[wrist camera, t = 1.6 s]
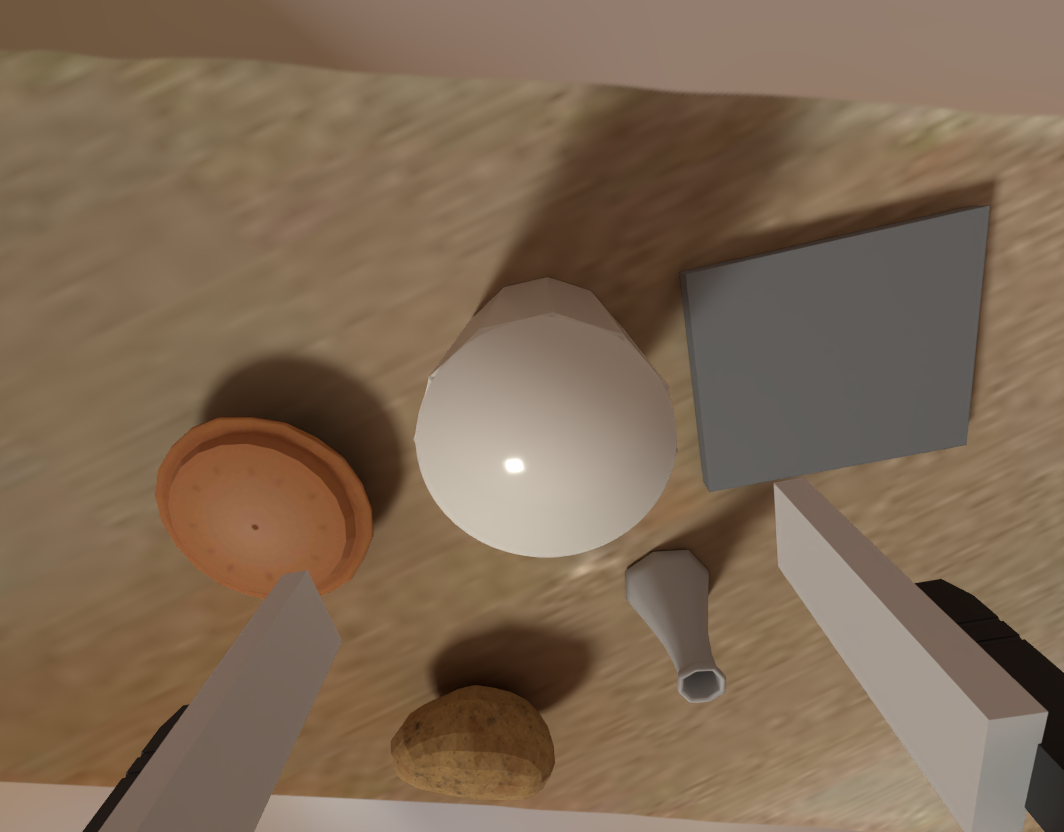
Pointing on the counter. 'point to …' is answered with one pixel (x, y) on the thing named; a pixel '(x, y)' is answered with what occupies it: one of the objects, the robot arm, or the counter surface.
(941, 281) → the slate board
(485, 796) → the potato
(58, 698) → the counter surface
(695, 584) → the flask
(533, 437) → the white cylinder
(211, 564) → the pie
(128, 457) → the counter surface
